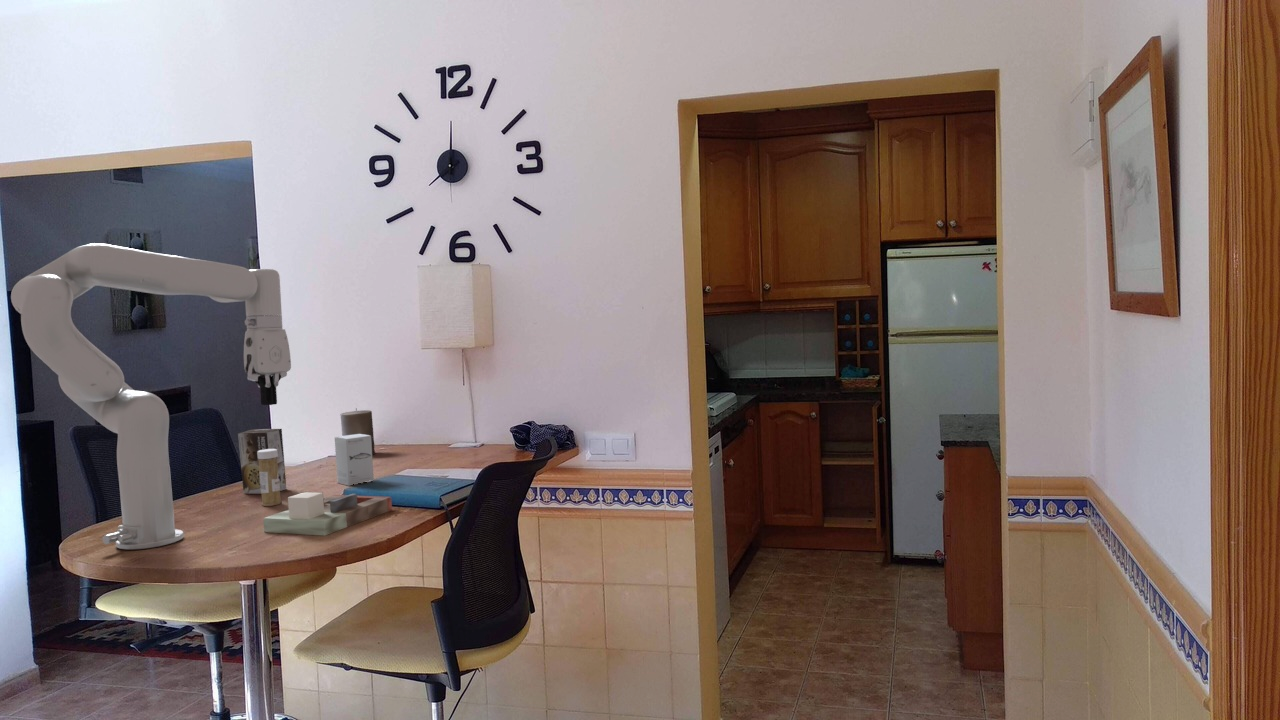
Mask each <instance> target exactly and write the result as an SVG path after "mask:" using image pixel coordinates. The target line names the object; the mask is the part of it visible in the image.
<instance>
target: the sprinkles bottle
mask: <svg viewBox="0 0 1280 720" xmlns="http://www.w3.org/2000/svg"><path fill="white" fill-rule="evenodd" d="M257 456H258V461H259V470H260V471H259V474H260V486H261V494H260V495H261V505H262V506H263V507H274V506H278V505H280V504H281V503H282V499H281V491H280V483H279V472H278V463H277V457H278V452H277V449H264V450H259V451H258V452H257Z"/></svg>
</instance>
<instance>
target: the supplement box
mask: <svg viewBox="0 0 1280 720" xmlns="http://www.w3.org/2000/svg"><path fill="white" fill-rule="evenodd" d="M334 448H335V449H334V450H335V465H336V479H337V480H336V481H337V483H338V484H341V485H344V486H348V487H350V486H353V484H354V485H359V484H358V483H361V484H363V483H362V482H365V481H369V480H373V479H374V480H375V478H374V476H375V475H374V474H375V473H374V464H373V463H374V462H373V454H372V443H371V436H370V435H365V434H354V435H346V436H342V435H340V436H335V437H334Z"/></svg>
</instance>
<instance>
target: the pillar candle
mask: <svg viewBox="0 0 1280 720" xmlns="http://www.w3.org/2000/svg"><path fill="white" fill-rule="evenodd" d="M339 416H340V422H341V423H340V424H341V425H340V426H341V436H346V435H354V434H365V435H370V436H371V443H372V455H375V454H376V451H375V439H374V425H373V412H372V410H369V409H368V410H367V409H365V410H357V407H355V410H353V411H345V412H343V413H342V412H341V413H340V415H339Z"/></svg>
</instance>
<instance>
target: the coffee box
mask: <svg viewBox="0 0 1280 720" xmlns="http://www.w3.org/2000/svg"><path fill="white" fill-rule="evenodd" d="M237 437H238V438H237V439H238V447H239V459H240V467H241V469H240V470H241V480H242V492H243V494H244V495H247V494H250V495H251V494H255V495H256V494H258V495H262V494H261V486H260V474H259V471H260V470H259V461H258V456H257V452H258V451H259V450H264V449H277V452H278V457H277V463H278V472H279V483H280V492H281V491H284V490H287V480H286V479H287V477H286V467H285V454H284V442H283V441H284V440H283V430H282V428H262V429H261V428H259V429H258V428H257V429H256V428H254V429H248V430H246V431H245V430H244V431H242V432H238V433H237Z"/></svg>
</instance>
